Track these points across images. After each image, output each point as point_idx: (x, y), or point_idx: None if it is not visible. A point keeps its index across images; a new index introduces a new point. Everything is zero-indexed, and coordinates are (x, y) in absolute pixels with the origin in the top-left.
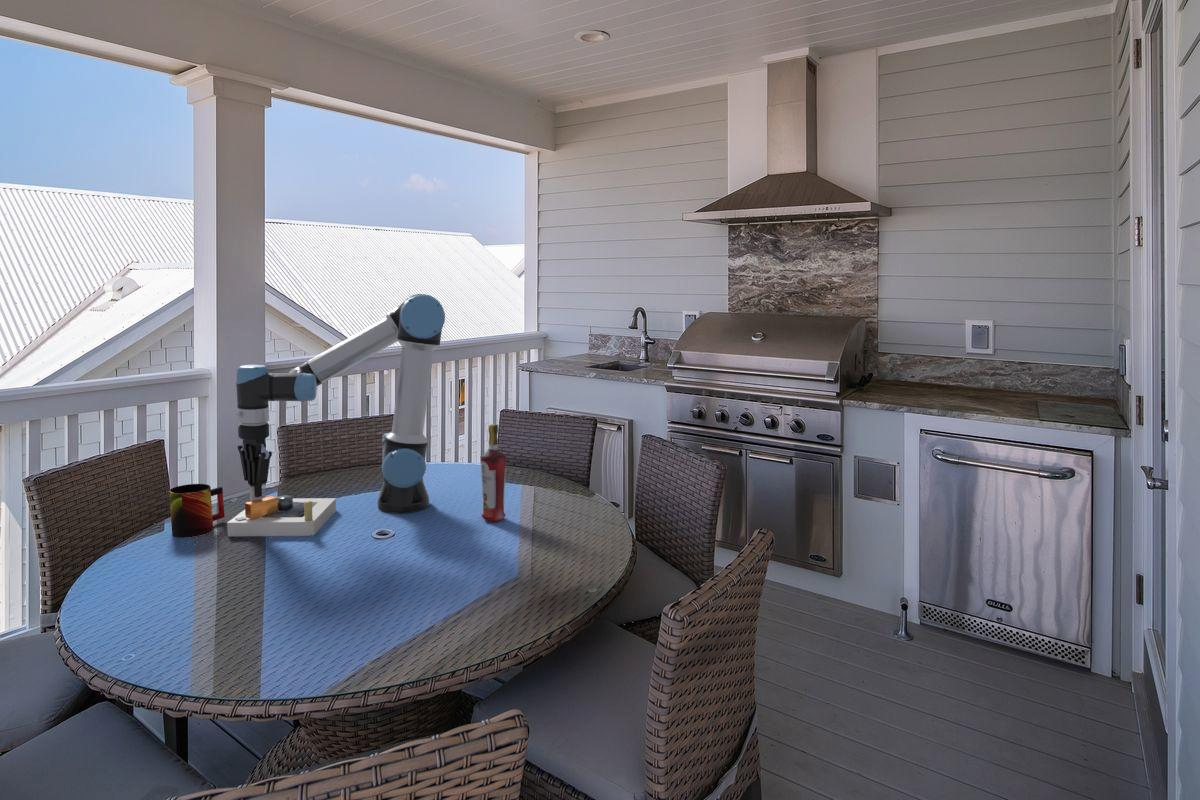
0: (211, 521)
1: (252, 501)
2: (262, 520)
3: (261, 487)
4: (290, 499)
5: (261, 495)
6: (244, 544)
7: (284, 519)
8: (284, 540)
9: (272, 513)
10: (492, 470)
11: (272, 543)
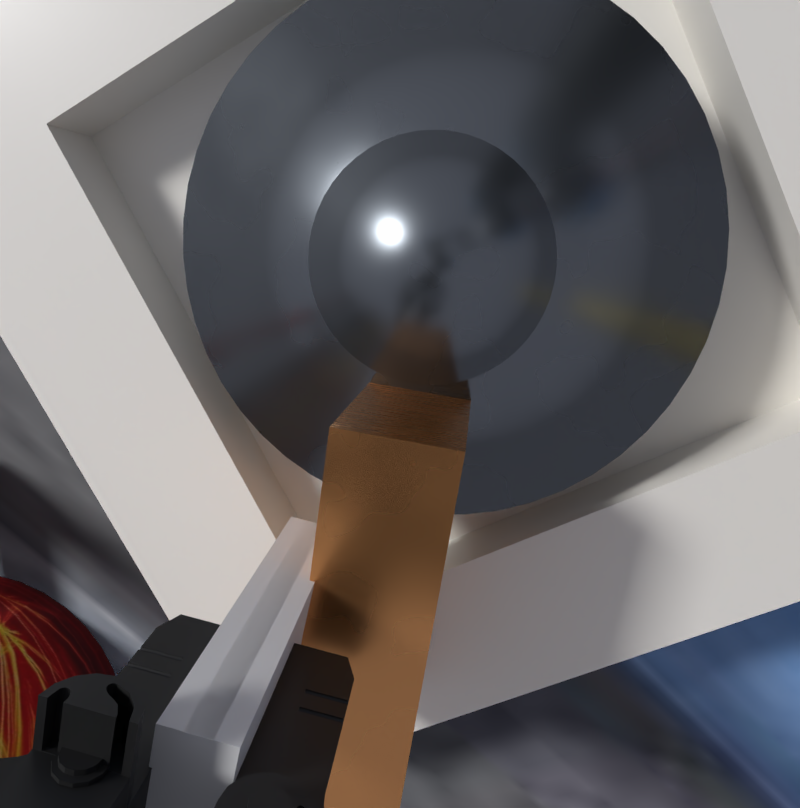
0: (46, 688)
1: None
2: (509, 639)
3: (327, 780)
4: (554, 257)
5: (350, 673)
6: (551, 782)
7: (710, 542)
8: (794, 626)
9: (472, 481)
10: None
11: (745, 708)
